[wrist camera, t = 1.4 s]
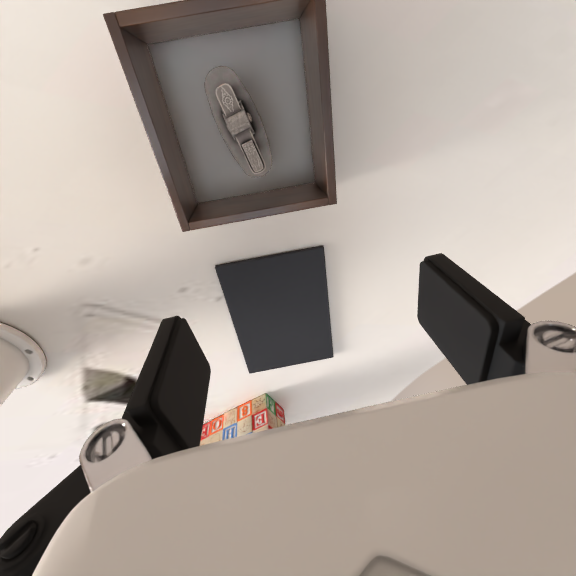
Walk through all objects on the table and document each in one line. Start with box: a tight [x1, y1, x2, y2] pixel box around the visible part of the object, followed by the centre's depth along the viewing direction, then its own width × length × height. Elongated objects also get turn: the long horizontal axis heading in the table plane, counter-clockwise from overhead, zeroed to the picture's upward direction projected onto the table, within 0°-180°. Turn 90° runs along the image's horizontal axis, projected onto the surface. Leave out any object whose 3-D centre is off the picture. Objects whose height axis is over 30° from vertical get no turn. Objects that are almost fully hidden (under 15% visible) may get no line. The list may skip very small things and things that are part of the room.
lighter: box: [204, 66, 272, 178], centre depth 25 cm, size 8×3×10 cm, turn 23°
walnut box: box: [103, 0, 337, 232], centre depth 26 cm, size 15×16×6 cm
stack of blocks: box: [200, 393, 285, 446], centre depth 50 cm, size 21×6×12 cm, turn 121°
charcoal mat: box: [215, 246, 333, 373], centre depth 42 cm, size 14×20×1 cm
